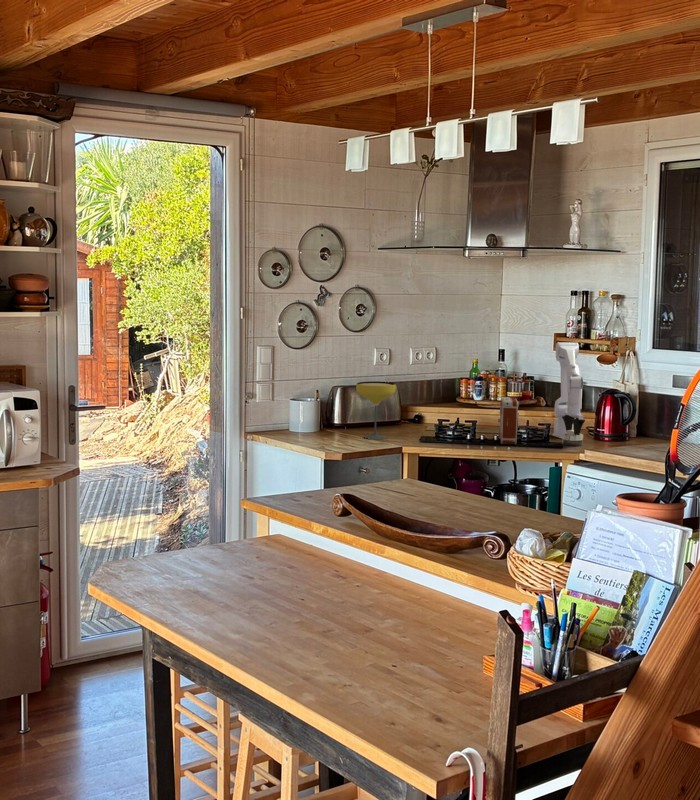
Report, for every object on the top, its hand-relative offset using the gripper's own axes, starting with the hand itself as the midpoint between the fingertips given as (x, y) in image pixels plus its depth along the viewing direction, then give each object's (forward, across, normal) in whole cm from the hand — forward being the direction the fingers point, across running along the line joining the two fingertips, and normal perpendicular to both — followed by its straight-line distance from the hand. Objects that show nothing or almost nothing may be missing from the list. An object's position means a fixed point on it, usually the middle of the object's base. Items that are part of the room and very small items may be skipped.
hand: (572, 433), depth 448 cm
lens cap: (+2, 0, 0) cm, 3 cm away
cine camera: (+5, -13, -26) cm, 29 cm away
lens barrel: (+5, 0, 0) cm, 5 cm away
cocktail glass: (+5, -35, -82) cm, 89 cm away
